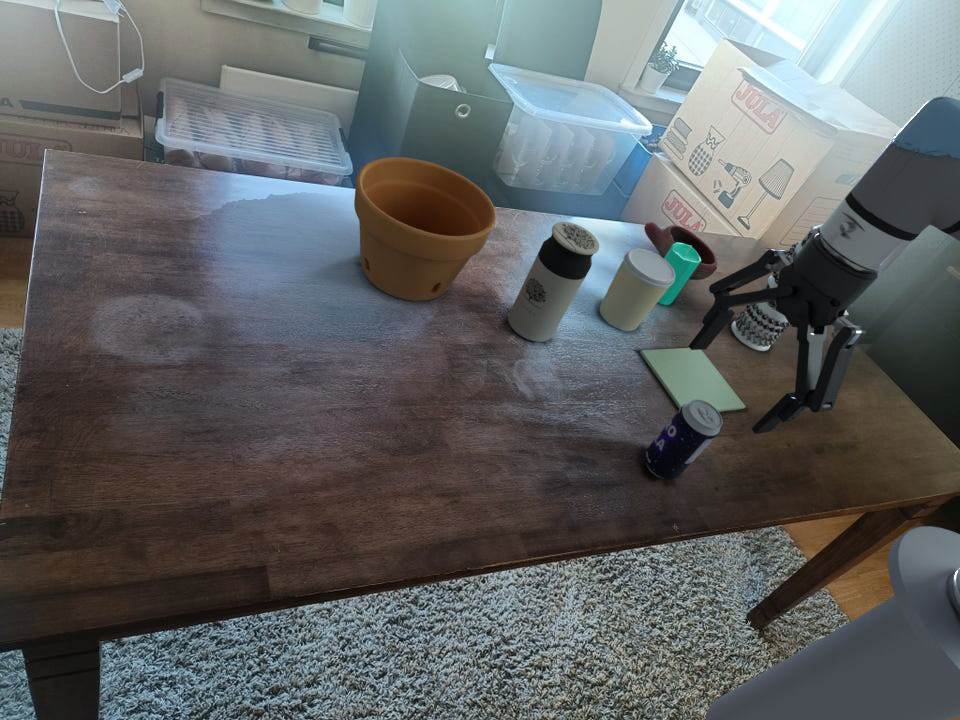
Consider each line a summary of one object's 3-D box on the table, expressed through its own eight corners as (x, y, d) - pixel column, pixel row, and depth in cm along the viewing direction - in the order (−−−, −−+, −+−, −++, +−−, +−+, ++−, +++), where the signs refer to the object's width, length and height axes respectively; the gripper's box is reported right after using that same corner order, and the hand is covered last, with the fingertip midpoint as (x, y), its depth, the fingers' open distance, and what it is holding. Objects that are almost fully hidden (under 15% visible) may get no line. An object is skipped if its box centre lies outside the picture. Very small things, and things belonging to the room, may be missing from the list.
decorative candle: (740, 314, 129) (823, 212, 113) (778, 343, 126) (868, 242, 109) (721, 327, 123) (806, 221, 107) (760, 358, 120) (853, 253, 103)
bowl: (681, 252, 140) (701, 222, 135) (714, 290, 133) (736, 260, 128) (626, 249, 133) (645, 217, 127) (657, 289, 125) (679, 257, 120)
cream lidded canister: (647, 317, 116) (681, 267, 108) (634, 342, 109) (670, 290, 102) (603, 292, 118) (634, 240, 110) (588, 314, 111) (620, 261, 103)
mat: (743, 408, 106) (746, 406, 106) (684, 416, 100) (686, 413, 99) (697, 349, 114) (699, 347, 114) (639, 352, 108) (641, 350, 107)
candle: (648, 280, 126) (680, 231, 119) (675, 296, 126) (708, 247, 118) (641, 293, 122) (673, 243, 114) (668, 309, 121) (703, 260, 113)
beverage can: (665, 449, 93) (710, 396, 85) (684, 481, 89) (733, 430, 81) (634, 451, 90) (678, 397, 82) (652, 484, 87) (700, 431, 79)
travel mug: (538, 308, 107) (584, 220, 95) (561, 341, 103) (611, 253, 91) (499, 310, 103) (541, 219, 91) (520, 345, 99) (568, 253, 87)
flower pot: (314, 243, 99) (329, 159, 90) (418, 225, 113) (441, 150, 103) (388, 330, 91) (413, 248, 81) (491, 300, 104) (523, 226, 95)
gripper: (750, 179, 70) (653, 317, 84) (921, 339, 55) (769, 474, 69) (793, 186, 74) (693, 317, 88) (964, 337, 59) (812, 466, 73)
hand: (727, 387), depth 78 cm, fingers open, 13 cm apart
